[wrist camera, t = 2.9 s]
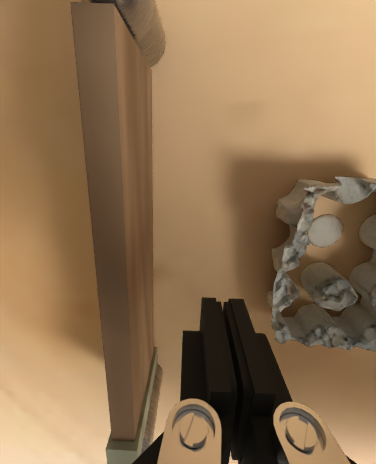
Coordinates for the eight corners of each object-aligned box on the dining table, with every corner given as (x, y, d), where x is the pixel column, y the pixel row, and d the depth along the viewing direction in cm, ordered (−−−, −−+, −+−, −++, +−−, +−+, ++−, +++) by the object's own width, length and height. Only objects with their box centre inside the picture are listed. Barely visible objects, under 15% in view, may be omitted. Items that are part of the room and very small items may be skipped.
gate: (156, 73, 13) (116, -5, 6) (157, 362, 19) (137, 470, 13) (126, 71, 13) (55, -7, 6) (137, 361, 19) (107, 468, 13)
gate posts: (165, 13, 12) (115, -209, 5) (162, 383, 20) (143, 520, 13) (118, 12, 12) (-8, -212, 5) (134, 382, 21) (98, 517, 13)
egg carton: (276, 171, 15) (304, 179, 11) (400, 176, 15) (472, 185, 11) (255, 315, 18) (270, 359, 14) (355, 320, 18) (398, 366, 14)
